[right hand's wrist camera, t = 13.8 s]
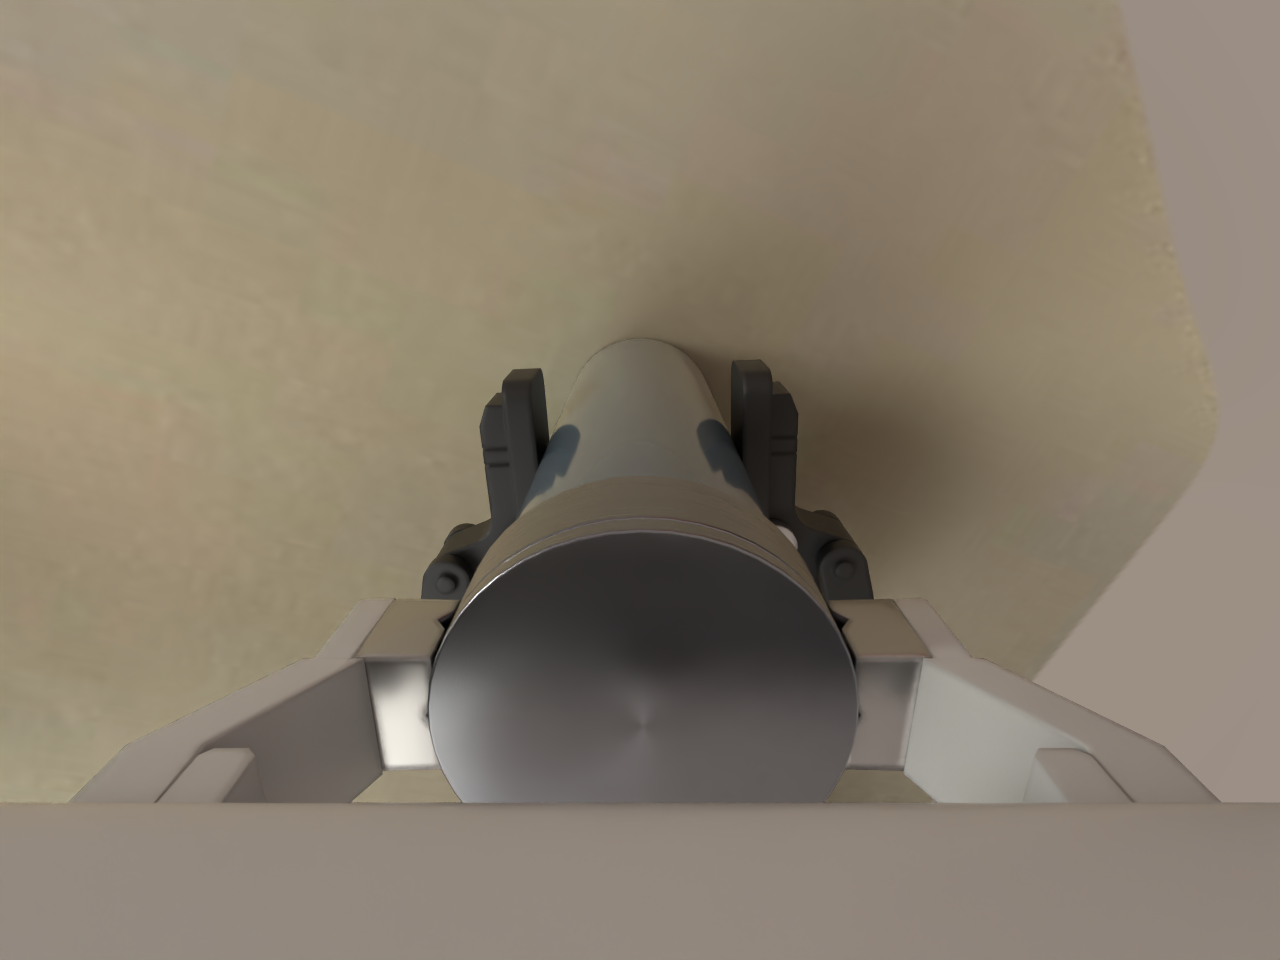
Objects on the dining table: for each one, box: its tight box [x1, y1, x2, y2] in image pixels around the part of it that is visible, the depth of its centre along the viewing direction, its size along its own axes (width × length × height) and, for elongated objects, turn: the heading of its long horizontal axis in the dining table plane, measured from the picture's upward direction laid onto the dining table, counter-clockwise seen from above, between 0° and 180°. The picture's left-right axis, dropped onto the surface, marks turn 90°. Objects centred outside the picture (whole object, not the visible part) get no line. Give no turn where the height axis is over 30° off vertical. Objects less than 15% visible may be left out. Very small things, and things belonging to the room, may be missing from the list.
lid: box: [427, 476, 859, 803], centre depth 9 cm, size 5×5×2 cm
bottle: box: [516, 338, 767, 520], centre depth 16 cm, size 5×5×16 cm
